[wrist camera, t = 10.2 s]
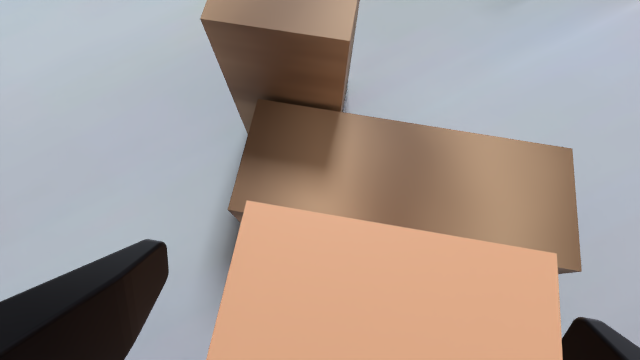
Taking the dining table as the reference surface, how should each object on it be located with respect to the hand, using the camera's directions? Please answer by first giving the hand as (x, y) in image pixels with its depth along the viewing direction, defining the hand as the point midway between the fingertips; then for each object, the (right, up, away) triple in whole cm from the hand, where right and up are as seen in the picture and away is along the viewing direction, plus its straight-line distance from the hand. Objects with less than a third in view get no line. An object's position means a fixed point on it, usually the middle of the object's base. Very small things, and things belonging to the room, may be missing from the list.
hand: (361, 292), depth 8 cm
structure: (+1, 0, +9) cm, 9 cm away
